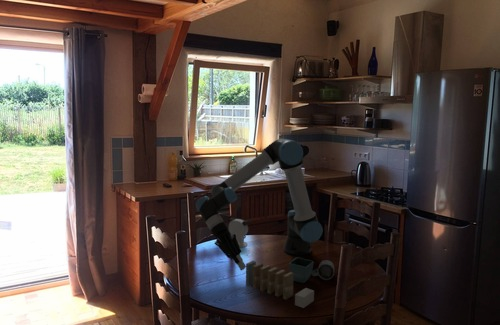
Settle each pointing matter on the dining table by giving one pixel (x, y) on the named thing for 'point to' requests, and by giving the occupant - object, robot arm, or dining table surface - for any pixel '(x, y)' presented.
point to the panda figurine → (239, 230)
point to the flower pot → (301, 269)
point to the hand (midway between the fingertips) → (243, 268)
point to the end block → (304, 297)
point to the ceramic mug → (324, 270)
